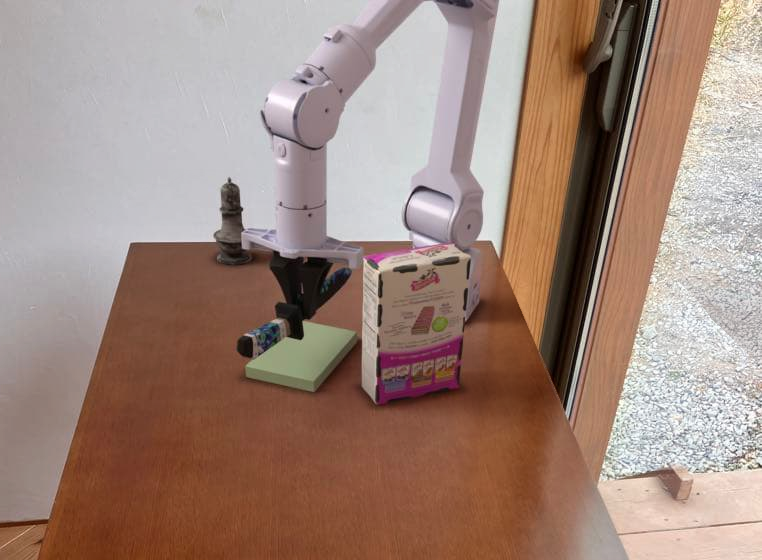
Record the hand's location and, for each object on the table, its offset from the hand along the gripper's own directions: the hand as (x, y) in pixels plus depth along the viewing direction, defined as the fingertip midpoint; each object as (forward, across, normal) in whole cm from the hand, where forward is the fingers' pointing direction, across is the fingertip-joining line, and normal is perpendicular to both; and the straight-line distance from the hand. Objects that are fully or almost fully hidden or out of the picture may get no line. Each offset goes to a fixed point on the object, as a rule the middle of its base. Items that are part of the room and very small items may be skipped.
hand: (302, 314), depth 107 cm
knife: (+2, 0, 0) cm, 2 cm away
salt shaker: (+6, -23, +25) cm, 34 cm away
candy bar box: (+6, +14, -2) cm, 16 cm away
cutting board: (+6, 0, 0) cm, 6 cm away
